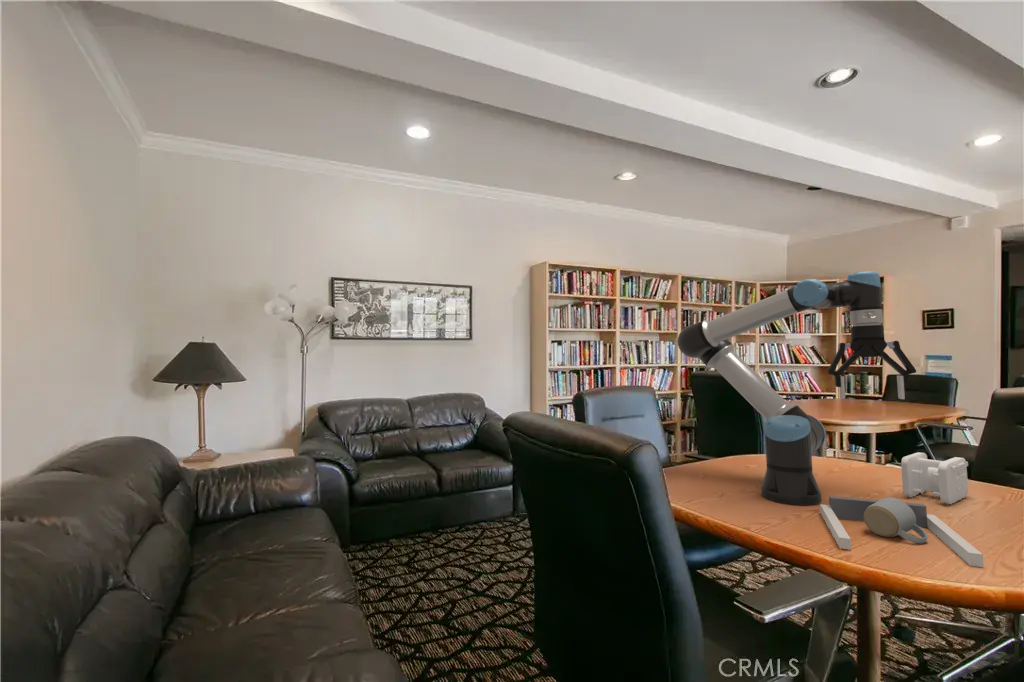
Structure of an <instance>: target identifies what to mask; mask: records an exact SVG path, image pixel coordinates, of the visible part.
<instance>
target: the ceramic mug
mask: <svg viewBox="0 0 1024 682" xmlns="http://www.w3.org/2000/svg"><path fill="white" fill-rule="evenodd" d="M904 502H905V501H904V500H901V499H898V498H896V497H884V498H882V499H880V501H878V502H876V503H874V504H872V505H870V506H869V507H867V509H866V510H865V511H864V515H863V518H864V521H863V522H864V523H865V525H866V527H867V528H868V529H869V530H870V531H871V532H872V533H874V534H876V535H877V536H880V537H883V538H892V537H897V536H899V537H900V538H903V539H905V540H906V541H908V542H910V543H914V544H918V543H919V545H922V544H921V543H923V544H925V543H926V541H927V540H928V538H929V536H928V534H927V532H926V531H925V530H924V529H922V527H919V526H917V525H916V516H915V514H914V512H913V510H912V509H911V508H910V507H909V506H908V505H907V504H906V503H907V502H906V503H904ZM910 531H914V532H915V533H916V534H917V535H918V536H920V537H917V536H914V535H911V533H908V532H910Z"/></svg>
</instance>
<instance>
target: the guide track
mask: <svg viewBox="0 0 1024 682" xmlns="http://www.w3.org/2000/svg"><path fill="white" fill-rule="evenodd" d="M880 500H881V499H880ZM880 500H879V499H871V498H870V499H867V498H855V497H845V496H834V495H829V496H828V502H829V504H822V503H819V504H820V505H819V507H820V515H821V517H822V519H823V521H824V520H825V521H824V522H826V523H825V524H826V526H827V528H828V530H829V529H830V530H829V531H831V532H830V534H831V533H832V534H831V535H832V537H833V539H834V538H835V539H834V540H836V541H835V543H836V542H837V543H836V544H838V545H837V547H838V548H839V547H840V548H843V549H851V550H852V543H851V542H852V540H851V537H850V536H849V534H848V532H847V531H846V529H845V528H844V526H843V524H842V523H841V521H840V520H848V519H852V520H851V521H858V520H860V521H859V522H864V518H863V515H864V511H865V510H866V509H867V507H869V506H870V505H872V504H874V503H876V502H878V501H880ZM903 502H904V503H906V504H907V505H908V506H909V507H910V508H911V509H912V510H913V512H914V514H915V516H916V525H917V526H919V527H920V528H926V527H928V528H927V529H929V530H930V531H931V532H932V533H933V534H934V535H935V536H936V535H937V536H936V537H938V538H939V539H940V540H941V541H942V542H943V543H944V544H945V545H948V546H947V547H949V548H950V550H952V551H953V552H954V553H955V554H956V553H957V554H956V555H957V556H959V558H960V559H962V560H963V561H964V562H965V563H967V565H969V566H970V567H975V568H976V567H977V568H984V566H985V565H984V553H982V552H981V551H979V550H978V549H977V548H976V547H975V546H973V545H972V544H971V543H970V542H968V541H967V540H966V539H965V538H963V537H962V536H961V535H960V534H958V533H957V532H956V531H954V530H953V529H952V528H951V527H949V525H947V523H945V522H943V521H942V520H941V519H940V518H939V517H938V516H936V515H935V514H928V512H927V505H925V504H924V503H918V502H917V503H916V502H905V501H903ZM838 518H841V519H838ZM840 548H839V549H840Z"/></svg>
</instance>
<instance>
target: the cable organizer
mask: <svg viewBox="0 0 1024 682" xmlns="http://www.w3.org/2000/svg"><path fill="white" fill-rule="evenodd" d="M900 463H901V464H900V466H901V467H900V468H901V479H902V481H901V483H902V492H903V493H902V494H903V495H904V496H908V498H910V497H912V498H914V497H916V495H919V493H921V494H920V495H921V496H922V494H924V493H925V492H929V493H933V496H934V498H933V499H935V498H936V497H937V496H938V497H939V499H940V501H941V503H945V504H946V505H948V504H951V505H953V504H954V503H956V502H959V501H961V500H963V499H964V498H966V497H967V496H968V493H969V481H968V470H967V469H968V468H967V467H969V462H968V461H966V459H965V457H957V456H954V457H951V458H949V459H946V460H936V459H928V455H927V454H926V453H925V452H919V451H917V452H914V453H912V454H908V455H906V456H903V457H902V458H901V462H900ZM923 492H924V493H923ZM913 496H914V497H913ZM962 498H963V499H962ZM958 500H959V501H958ZM952 503H953V504H952Z"/></svg>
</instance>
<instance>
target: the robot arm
mask: <svg viewBox="0 0 1024 682" xmlns="http://www.w3.org/2000/svg"><path fill="white" fill-rule="evenodd" d="M842 307H843V308H845V307H849V318H850V320H849V321H850V322H849V323H850V325H852V326H851V328H850V337H851V339H850V343H848V342H847V343H844V342H840V343H838V347H837V348H838V349H837V352H836V353H835V356H834V357H833V359H832V361H831V363H830V365H829V366H828V369H827V370H826V373H827V374H828V375H832V376H833V377H834V384H835V387H836V388H839V395H840V396H839V397H840V399H841V400H845V399H846V389H845V388H846V387H845V377H844V375H843V376H842V374H844V372H845V371H846V370H847V369H849V367H850V366H851V365H852V364H853V363H854V362H855V361H856V360H857V359H858V358H859V357H860V358H876V357H880V359H882V360H883V361H884V362H885V363H886V364H888V365H889V366H890V367H892V368H893V369H894V370H895V371H896V372H897V373H898V374H899V375H896V383H897V397H898V399H899V400H906V398H905V395H906V394H905V388H908V387H909V376H910V375H911V374H916V373H917V369H916V368H915V366H914V365H913V364H912V362H911V361H910V360H909V358H908V356H907V355H906V354H905V353H904V351H903V350H902V348H901V345H900V341H898V340H892V341H887V342H886V340H885V330H884V329H885V328H884V325H882V324H883V323H884V318H883V317H884V315H883V299H882V285H881V277H880V274H879V273H878V272H877V271H874V270H869V271H859V272H853V273H850V274H848V275H847V279H846V280H845V281H839V282H831V283H830V282H829V283H825V282H823V281H822V280H819V279H816V278H812V279H811V278H806V279H802V280H801V281H799V282H798V283H796V284H795V285H794V286H793V287H791V288H788V289H785V290H782V291H780V292H778V293H775V294H773V295H771V296H769V297H766V298H763V299H761V300H758V301H756V302H753V303H751V304H748V305H746V306H744V307H741V308H739V309H736V310H734V311H731V312H729V313H727V314H724V315H721V316H720V317H717V318H714V319H712V320H707V319H704V320H701V321H699V322H695V323H692V324H691V325H688V326H686V327H684V328H682V330H681V331H680V332H679V334H678V337H677V346H678V349H679V351H680V352H681V353H682V354H683V355H685V356H686V357H689V358H692V359H693V358H694V359H699V360H700V361H701V362H702V363H703V365H705V366H706V367H707V368H709V369H715V370H716V371H717V372H718V373H719V374H720V376H722V377H723V379H725V380H726V381H727V382H728V383H729V384H730V385H731V386H732V387H733V388H734V389H735V390H736V391H737V393H739V394H740V395H741V396H742V397H743V398H744V399H745V400H746V401H747V402H748V403H749V404H750V405H751V406H752V407H753V408H754V409H755V410H756V412H758V413H759V414H760V415H761V416H762V418H764V419H765V421H764V428H763V434H764V443H765V444H764V446H765V460H766V471H765V474H764V477H763V479H762V483H761V487H760V488H761V491H760V492H761V496H762V497H763V498H766V499H767V500H769V501H773V502H776V503H781V504H787V505H795V506H796V505H797V506H812V505H818V504H821V502H822V501H823V500H822V491H821V489H820V487H819V485H818V482H817V480H816V477H815V476H814V471H813V455H812V454H813V453H816V452H817V451H818V450H819V449H821V448H822V446H823V445H824V443H825V441H826V437H827V433H826V432H827V431H826V429H825V427H824V425H823V423H822V422H821V421H820V420H819V419H818V418H816V417H814V416H812V415H810V414H807V412H805V411H804V410H803V409H801V407H800V406H799V405H797V404H792V403H788V402H787V400H786V399H784V398H783V397H782V396H781V395H780V394H779V393H778V392H777V391H776V390H775V389H774V388H773V387H772V386H770V385H769V384H768V382H767V381H765V380H764V379H763V378H762V377H761V376H760V375H759V374H758V373H757V372H756V371H755V370H754V369H753V368H752V367H751V366H750V365H749V364H748V363H746V361H744V360H743V359H742V357H740V356H739V355H738V354H737V353H736V352H735V345H734V344H733V343H732V342H731V341H730V340H729V339H730V338H731V339H732V338H733V337H737V336H739V335H742V334H744V333H747V332H750V331H752V330H755V329H758V328H760V327H763V326H766V325H768V324H771V323H773V322H777V321H779V320H781V319H785V318H787V317H790V316H792V315H795V314H797V313H800V312H804V311H807V310H809V311H814V310H815V311H818V310H822V309H825V310H826V309H832V308H842ZM887 347H888V348H889V349H891V350H892V351H893V353H894V354H895V355H896V357H897V358H898V360H899V361H900V362H901V364H902V365H903V367H904V368H903V367H902V366H901V365H900V364H899V363H898V362H896V361H895V360H894V359H893V358H892V357H891V356H890V355H888V353H887V352H885V349H886V348H887ZM849 348H850V349H851V350H852V351H853V352H852V353H851V355H850V356H849V357H848V358H847V359H846V360H845V361H844V362H843V363H842V364H841V365H840V367H838V365H839V363H840V362H841V359H842V357H843V356H844V354H845V351H848V349H849ZM837 367H838V369H837ZM836 369H837V370H836Z"/></svg>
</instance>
